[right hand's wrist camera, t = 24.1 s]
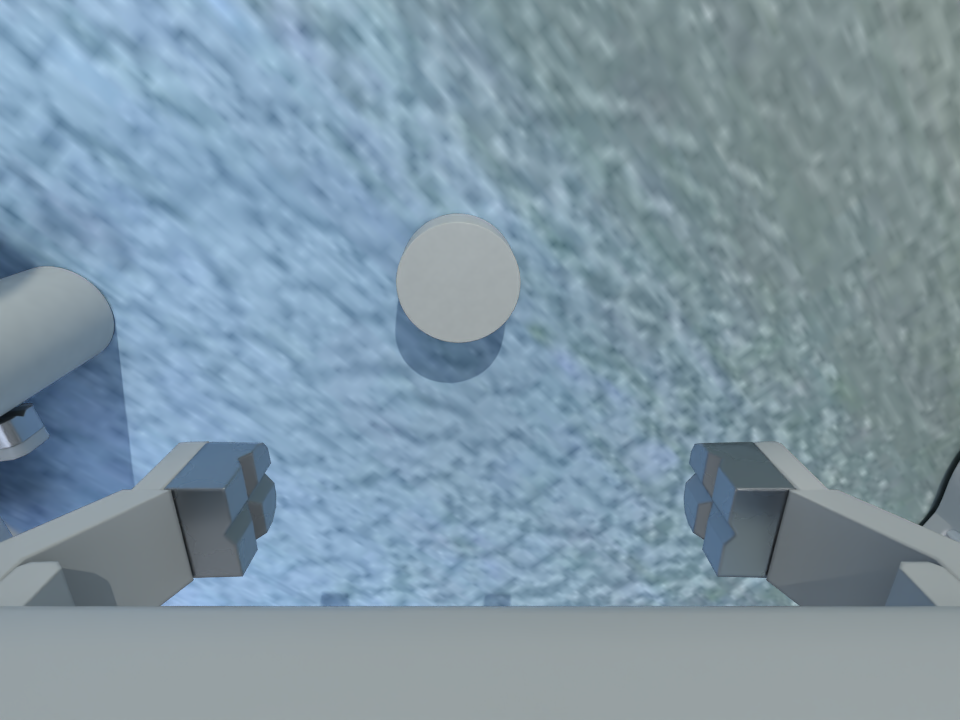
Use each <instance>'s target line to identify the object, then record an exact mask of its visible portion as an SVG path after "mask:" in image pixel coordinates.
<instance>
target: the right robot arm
mask: <svg viewBox="0 0 960 720" xmlns="http://www.w3.org/2000/svg"><path fill="white" fill-rule="evenodd" d="M270 464H271V461H270V456H269V451H268V448H267V447H266V446H265V444H264V443H246V442H209V441H203V442H182V443H179V444H178V445H177V446H176V447H175V448H174V449H173V450H172V451H171V452H170V453H169V454H168V455H167V456H165V457H164V458H163V459H162V460H161V461H160V462H159V463H158V464H157V465H156V466H155V467H154V468H153V469H152V470H151V471H150V472H149V473H148V474H147V475H146V476H145V477H144V478H143V479H142V480H141V481H140V482H139V483H138V484H137V485H136V486H135V487H134V488H133V489H132V490H121V491H119V492H116V493H114V494H112V495H109V496H107V497H105V498H102V499H100V500H98V501H95V502H93V503H91V504H88V505H86V506H84V507H81V508H79V509H77V510H74V511H72V512H70V513H67V514H65V515H63V516H60V517H58V518H56V519H53V520H51V521H49V522H47V523H44V524H42V525H40V526H37V527H35V528H33V529H30V530H28V531H26V532H23V533H21V534H19V535H16V536H14V537H12V538H9V539H7V540H5V541H2V542H0V720H960V461H959V463H958V465H957V466H956V468H955V470H954V472H953V474H952V476H951V478H950V480H949V483H948V485H947V488H946V490H945V493H944V496H943V498H942V500H941V503H940V505H939V507H938V508H937V510H936V512H935V513H934V514H933V515H932V516H931V517H930V519H929V520H928V521H927V522H926V523H925V524H924V525H923V526H920V525H918V524H916V523H913V522H911V521H909V520H906V519H904V518H902V517H899V516H897V515H895V514H892V513H890V512H888V511H885V510H883V509H881V508H879V507H876V506H874V505H872V504H869V503H867V502H865V501H862V500H860V499H858V498H855V497H853V496H851V495H848V494H846V493H844V492H841V491H839V490H828V489H827V488H826V487H825V486H824V485H823V484H822V483H821V482H820V481H819V480H818V479H817V478H816V477H815V476H814V475H813V474H812V473H811V472H810V471H809V470H808V469H807V468H806V467H805V466H804V465H803V464H802V463H801V462H800V461H799V460H798V459H797V458H796V457H795V456H794V455H793V454H792V453H791V452H790V451H789V450H788V449H786V448H785V447H784V446H783V445H782V444H781V443H778V442H775V441H768V442H732V443H699V444H695V445H694V447H693V449H692V451H691V455H690V461H689V464H690V465H691V467H692V469H693V470H694V472H695V474H694V475H693V476H692V477H691V478H690V479H689V480H688V481H687V482H686V485H685V492H684V508H685V515H686V518H687V521H688V524H689V526H690V528H691V530H692V531H693V533H695V534H696V535H698V536H699V537H701V538H702V539H704V543H703V549H702V550H703V551H704V553H705V555H706V557H707V559H708V560H709V562H710V564H711V566H712V568H713V569H714V571H715V573H716V575H717V576H721V577H758V578H767V579H766V580H767V581H768V582H770V583H771V584H772V585H774V586H775V587H776V588H777V589H779V590H780V591H781V592H783V593H784V594H785V595H787V596H788V597H789V598H790V599H792V600H793V601H794V602H796V603H797V604H798V605H800V606H161V605H162V604H163V603H165V602H166V601H167V600H168V599H170V598H171V597H172V596H174V595H175V594H176V593H178V592H179V591H180V590H181V589H183V588H184V587H185V586H187V585H188V584H189V583H191V582H192V581H193V580H194V579H193V578H202V577H238V576H243V575H244V573H245V571H246V569H247V568H248V566H249V564H250V562H251V560H252V559H253V557H254V555H255V553H256V551H257V550H258V549H257V543H256V539H258V538H259V537H261V536H262V535H264V534H265V533H267V531H268V530H269V528H270V526H271V524H272V522H273V518H274V513H275V509H276V491H275V484H274V482H273V481H272V480H271V479H270V478H269V477H268V476H267V475H266V474H265V472H266V470H267V469H268V467H269V465H270Z"/></svg>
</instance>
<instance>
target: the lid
mask: <svg viewBox="0 0 960 720" xmlns="http://www.w3.org/2000/svg"><path fill="white" fill-rule="evenodd" d="M396 287H397V294H398V298H399V301H400V304H401V306H402V308H403V310H404V312H405V314H406V315H407V317H408V318H409V319H410V320H411V322H412V323H413V324H414V325H415V326H416V327H417V328H419V329H420V330H421V331H423V332H424V333H426V334H427V335H429V336H431V337H433V338H436V339H439V340H442V341H446V342H454V343H464V342H471V341H475V340H479V339H481V338H484V337H486V336H488V335H490V334H491V333H493V332H494V331H496V330H497V329H499V328H500V327H501V326H502V325H503V324H504V323H505V322H506V320H507V319H508V318H509V317H510V315H511V314H512V312H513V310H514V308H515V306H516V304H517V301H518V297H519V292H520V272H519V268H518V264H517V262H516V259H515V257H514V254H513V252H512V250H511V248H510V246H509V244H508V242H507V240H506V239H505V238H504V236H503V235H502V234H501V233H500V232H499V230H498V229H497V228H495V227H494V226H493V225H492V224H490V223H488V222H487V221H485V220H483V219H481V218H478V217H476V216H472V215H467V214H448V215H444V216H440V217H437V218H435V219H433V220H431V221H429V222H427V223H426V224H424V225H423V226H422V227H420V228H419V229H418V230H417V231H416V232H415V233H414V235H413V236H412V237H411V239H410V240H409V242H408V244H407V246H406V248H405V250H404V253H403V255H402V257H401V260H400V263H399V266H398V270H397V277H396Z"/></svg>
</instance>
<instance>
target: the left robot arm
mask: <svg viewBox="0 0 960 720" xmlns="http://www.w3.org/2000/svg"><path fill="white" fill-rule="evenodd" d="M48 438H49V433H48V431H47V430H46V428H45V426H44V424H43V422H42V420H41V418H40V417H39V415H38V413H37V411H36V410H35V408H34V406H33V404H32V403H24V404H21V405H19V406H18V407H14V408H13V409H11V410H10V411H8V412H7V413H5V414H3V415H2V416H0V461H8V460H14V459H17V458H20V457H22V456H25V455H27V454H29V453H30V452H32V451H33V450H34V449H36V448H37V447H38V446H39V445H41V444H42V443H43V442H45V441H46V440H47V439H48ZM12 537H13V536H12V534H11V533H10V531H9V529H8V528H7V526H6V525H5V523H4V521H3V520H2V518H1V516H0V542H2V541H5V540H7V539H9V538H12Z"/></svg>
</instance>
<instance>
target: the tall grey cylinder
mask: <svg viewBox="0 0 960 720" xmlns="http://www.w3.org/2000/svg"><path fill="white" fill-rule="evenodd" d="M113 332H114V319H113V314H112V311H111V308H110V306H109V304H108V302H107V301H106V299H105V298H104V296H103V295H102V294H101V292H100V291H99V290H98V289H97V288H96V287H95V286H94V285H93V284H92V283H90V282H89V281H88V280H86V279H85V278H83V277H82V276H80V275H78V274H76V273H74V272H72V271H69V270H66V269H63V268H58V267H51V266H42V267H36V268H32V269H29V270H26V271H23V272H20V273H17V274H14V275H11V276H8V277H5V278H2V279H0V416H2V415H3V414H5V413H7V412H8V411H10V410H11V409H13V408H14V407H16V406H18V405H19V404H21V403H22V402H24V401H25V400H27V399H29V398H30V397H32V396H33V395H35V394H36V393H38V392H40V391H41V390H43V389H44V388H46V387H48V386H49V385H51V384H52V383H54V382H55V381H57V380H59V379H60V378H62V377H63V376H65V375H66V374H68V373H70V372H71V371H73V370H74V369H76V368H77V367H79V366H81V365H82V364H84V363H85V362H87V361H88V360H90V359H92V358H93V357H95V356H96V355H98V354H99V353H101V352H102V351H103V350H104V349H105V348H106V347H107V346H108V345H109V343H110V341H111V339H112V336H113Z"/></svg>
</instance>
